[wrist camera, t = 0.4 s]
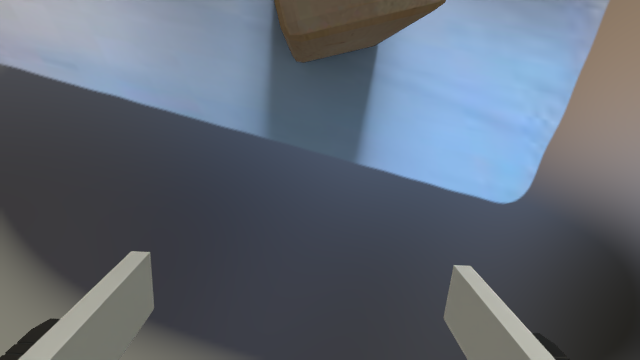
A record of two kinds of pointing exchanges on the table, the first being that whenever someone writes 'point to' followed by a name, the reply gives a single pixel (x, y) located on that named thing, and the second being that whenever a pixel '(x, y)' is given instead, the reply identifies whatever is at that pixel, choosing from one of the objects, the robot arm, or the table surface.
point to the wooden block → (344, 23)
